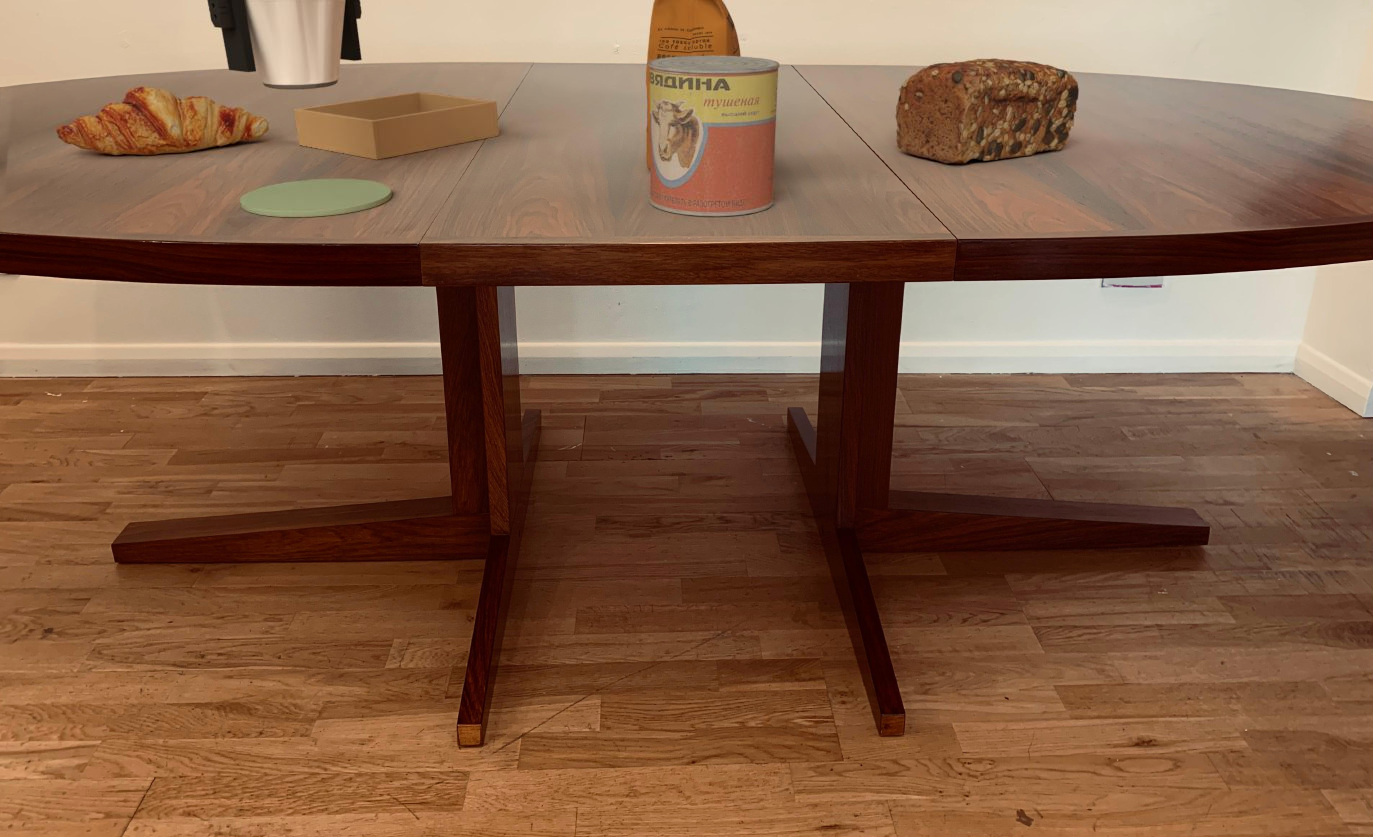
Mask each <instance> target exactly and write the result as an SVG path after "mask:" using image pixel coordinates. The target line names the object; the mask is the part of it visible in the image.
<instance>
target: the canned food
mask: <svg viewBox="0 0 1373 837" xmlns="http://www.w3.org/2000/svg"><path fill="white" fill-rule="evenodd" d="M648 66H649V67H650V169H649V170H650V171H649V172H650V173H649V174H650V196H649V203H650V205H651V206H653V207H654V208H656V209H657V210H658V209H659V210H661V211H663V212H667V213H672V214H677V215H684V216H694V217H735V216H745V215H751V214H756V213H759V212H763V211H765V210H768V209H769V208H771V207H772V206H773V205H774V203H775V202H774V200H775V199H774V198H773V197H774V178H775V177H774V175H775V155H776V154H775V149H776V128H777V109H778V108H777V107H778V82H779V68H780V62H778V61H776V60H772V59H768V58H763V57H752V56H741V57H740V56H679V57H667V58H659V59H654V60H651V61H649V62H648Z"/></svg>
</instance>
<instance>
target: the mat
mask: <svg viewBox="0 0 1373 837" xmlns="http://www.w3.org/2000/svg"><path fill="white" fill-rule="evenodd" d="M392 195H393V194H392V189H391V188H390V187H389V186H388V185H386V184H385V183H381V182H378V181H373V180H368V179H358V178H356V179H355V178H317V179H315V178H313V179H304V180H294V181H286V182H280V183H275V184H269V185H266V186H263V187H259V188H256V189H253V190H250V191H248V192H246V193H245V194H243V195H242V196H240V198H239V203H240V207H241V209H242V210H244V211H246V212H248V213H251V214H254V215H260V216H266V217H277V218H313V217H316V218H317V217H328V216H329V217H330V216H337V215H345V214H349V213H355V212H360V211H365V210H368V209H372V208H375V207H378V206H382V205H383V204H385V203H386V202H388V201H390V200H391V199H392Z"/></svg>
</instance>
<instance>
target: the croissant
mask: <svg viewBox="0 0 1373 837" xmlns="http://www.w3.org/2000/svg"><path fill="white" fill-rule="evenodd" d="M183 98H184V99H181V98H180V97H176V96H175V95H174V94H173V93H172V92H171V91H169V90H167V89H164V88H156V87H146V86H139V87H132V88H130V89H129V90H128V91H127V92H126V94H125V97H124V98H123V100H122V101H121V102H109V103H107V104H106V105H104V106H103V108H102V109H101V110H100V112H99V113H97V114H96V115H87V116H80V117H77V118H76V119H75V120H73V121H72V122H71V123H69V124H64V125H63V124H62V125H59V126H56V127H55V130H56V134H57V135H58V138H59V139H61V141H63V143H64V144H67V145H73V146H75V147H77V148H79V149H81V150H87V151H90V150H92V151H94V152H98V153H100V154H109V155H114V156H119V155H124V154H125V155H139V156H140V155H141V156H151V155H159V154H176V153H177V154H178V153H190V152H193V151H199V150H204V149H208V148H213V147H218V146H219V147H222V146H227V145H229V144H233V145H234V144H235V143H237V142H239V141H252V140H255V139H259V138H261V137H263V136H265V135H266V134H267V133H268V132H269V130H270V129H269V128H270V122H269V120H268V119H267V118H266V117H264V116H257V115H255V114H254V113H251V112H249V111H248V110H245V109H244V108H243V107H239V106H237V107H228V106H226V105H224V104H221V103H216V102H215V101H214V99H212V98H211V99H210V98H209V97H207V96H200V95H198V96H183Z"/></svg>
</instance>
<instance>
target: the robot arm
mask: <svg viewBox="0 0 1373 837" xmlns="http://www.w3.org/2000/svg"><path fill="white" fill-rule="evenodd" d="M361 3H362V2H361V0H345V9H344V21H343V33H342V44H341V56H340V60H343V61H351V62H356V61H362V60H363V58H362V52H361V44H360V37H359V26H358V20H360V19H361V17H362V6H361ZM207 5H208V6H207V7H208V12H209V18H210V21H211V23H212V25H213V27H214V28H217V29H221V35H222V40H223V46H224V51H225V56H226V62H227V67H228V70H229V71H234V72H242V73H253V72H257V69H256V66H255V61H254V55H253V49H252V43H251V37H250V31H249V26H248V20H247V14H246V8H245V2H244V0H207Z"/></svg>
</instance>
